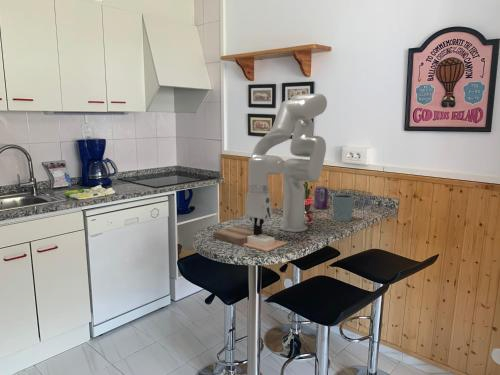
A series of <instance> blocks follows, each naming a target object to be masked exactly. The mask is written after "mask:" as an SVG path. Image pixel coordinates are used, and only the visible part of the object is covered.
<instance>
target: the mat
mask: <svg viewBox="0 0 500 375" xmlns="http://www.w3.org/2000/svg"><path fill="white" fill-rule="evenodd" d="M287 244H288V241H287V242H286V241H282V240H279V239H275V240H274V244H272V245H270V246H267V247H262V246H258V245H255V244H251V243H245V244H243V245H242V246H246V247H248V248H252V249H256V250H259V251H263V252H267V253H268V252H270V251H273V250H274V249H275V250H276V249H277V248H280V247H282V246H285V245H287Z"/></svg>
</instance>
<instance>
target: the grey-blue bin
mask: <svg viewBox="0 0 500 375" xmlns="http://www.w3.org/2000/svg"><path fill="white" fill-rule="evenodd" d="M332 201H333V204H332V205H333V207H332V208H333V220H334V221H336V220H337V221H336V222H341V221H348V222H351V221H352V217H353V216H352V215H353V210H354V209H353V208H354V201H355V196H354V195H352V194H346V193H338V194H333V195H332Z"/></svg>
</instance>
